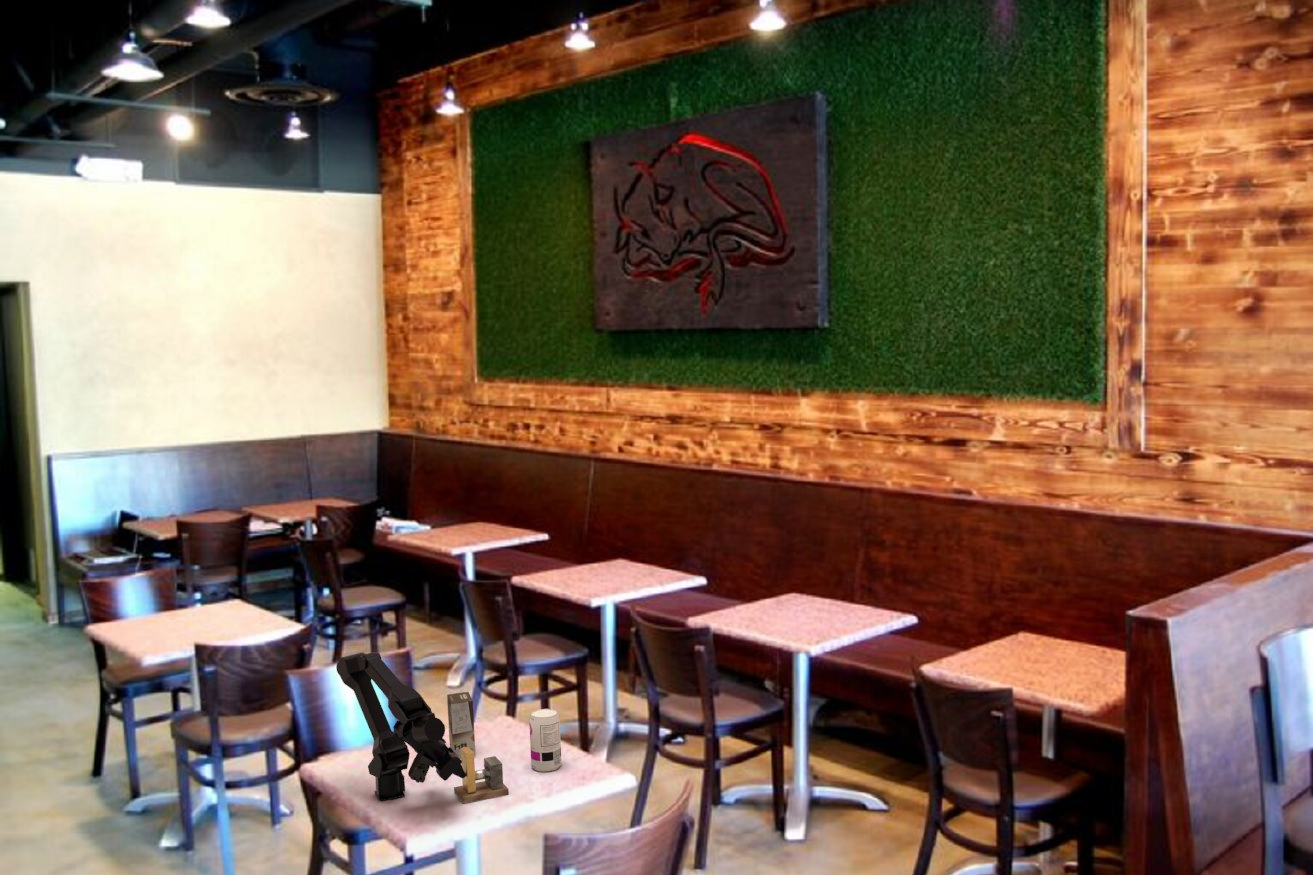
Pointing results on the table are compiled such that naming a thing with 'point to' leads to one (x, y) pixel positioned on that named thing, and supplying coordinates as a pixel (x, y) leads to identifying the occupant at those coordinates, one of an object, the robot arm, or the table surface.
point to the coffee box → (461, 722)
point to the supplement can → (545, 740)
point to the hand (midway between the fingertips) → (464, 776)
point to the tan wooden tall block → (471, 770)
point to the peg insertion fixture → (485, 784)
